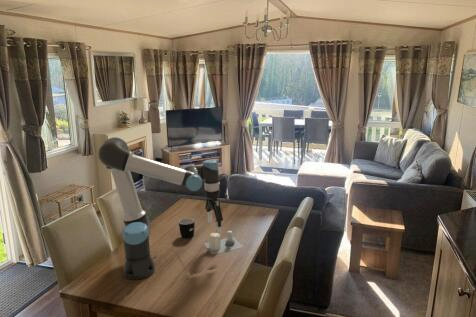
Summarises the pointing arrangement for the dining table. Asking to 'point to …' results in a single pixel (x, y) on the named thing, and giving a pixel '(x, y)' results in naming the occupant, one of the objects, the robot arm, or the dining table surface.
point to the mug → (187, 227)
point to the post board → (224, 247)
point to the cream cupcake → (214, 241)
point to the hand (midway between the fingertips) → (214, 227)
